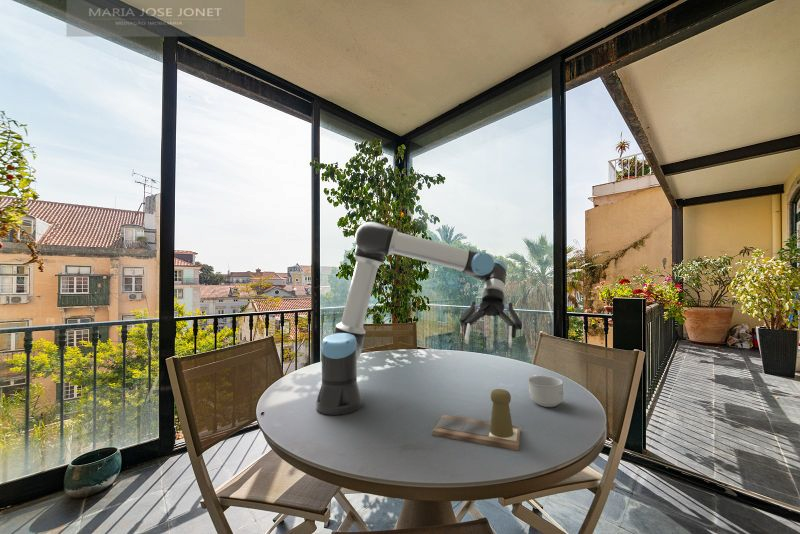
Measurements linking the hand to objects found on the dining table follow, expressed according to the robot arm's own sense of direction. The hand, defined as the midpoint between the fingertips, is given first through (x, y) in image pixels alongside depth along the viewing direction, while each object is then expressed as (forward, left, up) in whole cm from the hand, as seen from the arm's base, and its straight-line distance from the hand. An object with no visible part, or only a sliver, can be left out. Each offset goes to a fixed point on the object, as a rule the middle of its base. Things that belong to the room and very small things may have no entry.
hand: (487, 343), depth 102 cm
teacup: (+17, +15, -22) cm, 31 cm away
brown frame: (-1, -15, -22) cm, 26 cm away
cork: (+5, -15, -20) cm, 26 cm away
